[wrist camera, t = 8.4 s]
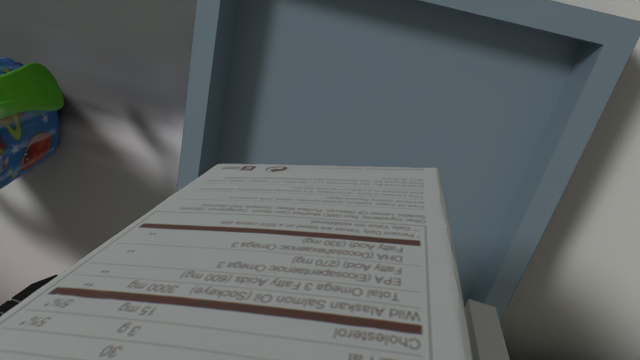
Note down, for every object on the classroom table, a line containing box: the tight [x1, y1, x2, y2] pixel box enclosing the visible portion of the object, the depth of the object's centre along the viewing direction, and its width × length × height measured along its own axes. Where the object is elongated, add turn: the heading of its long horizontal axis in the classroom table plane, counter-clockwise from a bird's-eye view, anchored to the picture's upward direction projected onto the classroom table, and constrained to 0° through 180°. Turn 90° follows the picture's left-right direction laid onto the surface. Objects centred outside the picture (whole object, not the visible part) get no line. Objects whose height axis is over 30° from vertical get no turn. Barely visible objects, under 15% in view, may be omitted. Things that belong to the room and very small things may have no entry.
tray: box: [177, 0, 640, 322], centre depth 25 cm, size 20×20×4 cm
